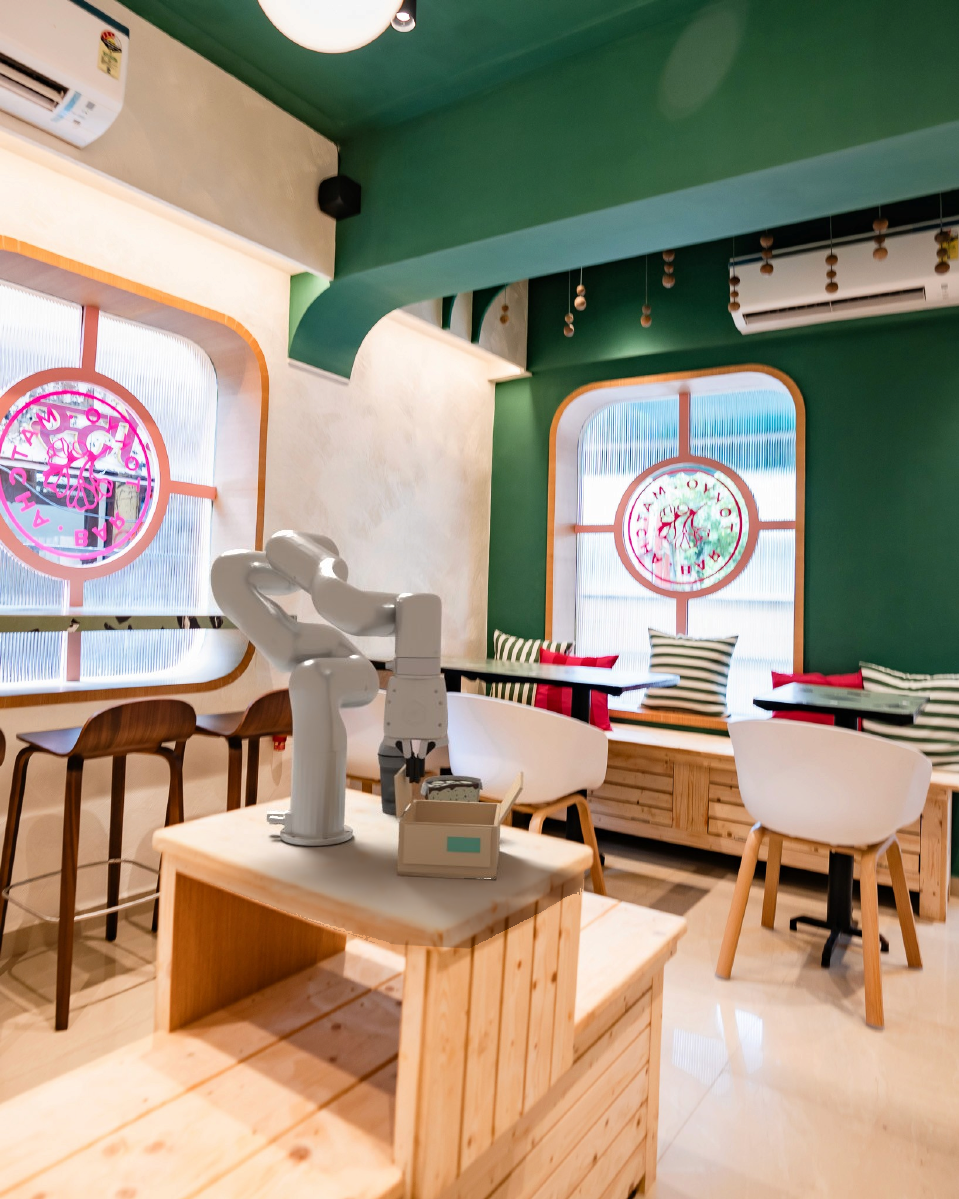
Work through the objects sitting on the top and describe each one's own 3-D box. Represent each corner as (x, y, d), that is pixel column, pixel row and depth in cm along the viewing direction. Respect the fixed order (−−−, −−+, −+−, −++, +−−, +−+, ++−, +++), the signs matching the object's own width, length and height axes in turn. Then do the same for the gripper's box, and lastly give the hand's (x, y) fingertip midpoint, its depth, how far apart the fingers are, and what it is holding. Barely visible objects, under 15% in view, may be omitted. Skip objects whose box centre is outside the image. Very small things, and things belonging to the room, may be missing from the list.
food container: (463, 825, 153) (465, 772, 153) (481, 833, 148) (483, 778, 148) (406, 833, 146) (408, 778, 147) (423, 841, 141) (425, 784, 141)
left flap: (399, 818, 123) (396, 818, 123) (412, 799, 136) (409, 799, 136) (397, 776, 123) (394, 776, 123) (410, 761, 137) (407, 761, 137)
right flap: (520, 786, 122) (523, 788, 122) (520, 770, 136) (523, 772, 136) (498, 822, 122) (501, 824, 122) (501, 803, 136) (503, 804, 136)
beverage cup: (393, 805, 168) (396, 710, 169) (418, 811, 163) (421, 713, 164) (367, 811, 162) (371, 712, 163) (393, 817, 158) (396, 715, 158)
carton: (396, 876, 121) (398, 823, 121) (412, 845, 138) (414, 798, 138) (495, 881, 120) (497, 827, 120) (499, 849, 137) (501, 802, 137)
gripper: (367, 668, 127) (365, 785, 126) (461, 670, 126) (459, 787, 126) (376, 666, 135) (373, 776, 134) (464, 668, 134) (462, 779, 133)
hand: (415, 781), depth 130 cm, fingers closed
